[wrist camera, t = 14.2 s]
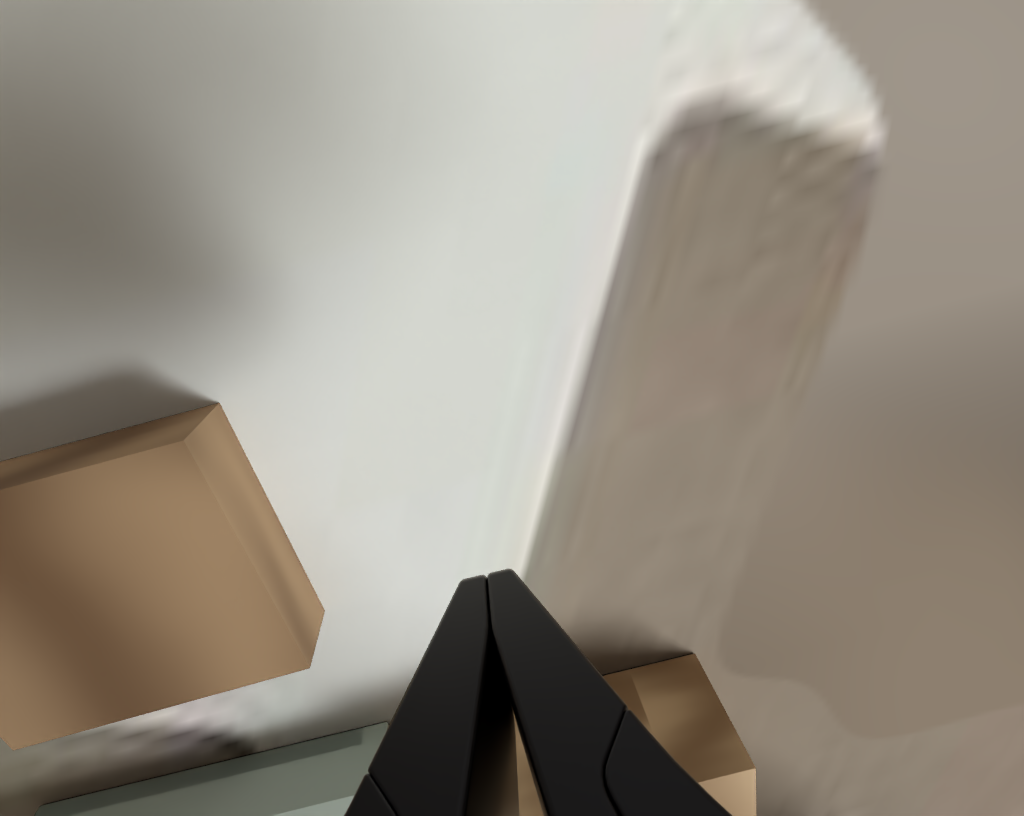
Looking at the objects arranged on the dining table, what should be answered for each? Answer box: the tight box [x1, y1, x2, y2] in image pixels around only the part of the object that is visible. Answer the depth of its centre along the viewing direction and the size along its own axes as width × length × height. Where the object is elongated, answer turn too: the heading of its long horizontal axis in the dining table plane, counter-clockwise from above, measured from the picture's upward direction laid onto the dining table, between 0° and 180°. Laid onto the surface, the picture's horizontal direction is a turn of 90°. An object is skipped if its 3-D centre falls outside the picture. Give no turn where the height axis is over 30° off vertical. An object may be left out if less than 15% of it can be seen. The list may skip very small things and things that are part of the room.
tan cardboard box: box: [0, 403, 325, 750], centre depth 14 cm, size 8×7×2 cm
